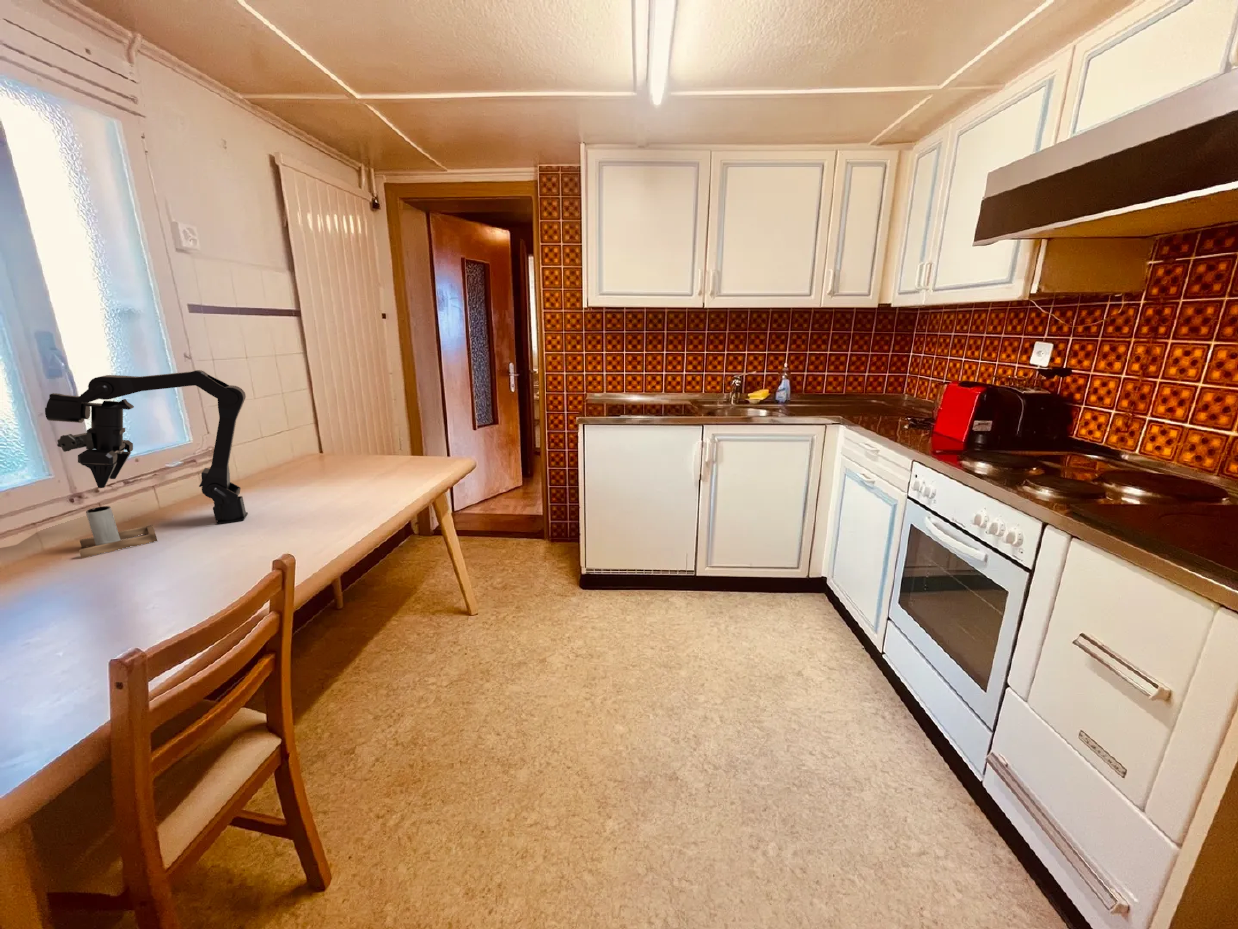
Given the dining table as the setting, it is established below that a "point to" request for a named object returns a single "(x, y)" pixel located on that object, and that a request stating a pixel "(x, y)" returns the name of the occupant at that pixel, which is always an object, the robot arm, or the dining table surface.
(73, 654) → the dining table surface
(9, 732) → the dining table surface
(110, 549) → the tan u-shaped frame
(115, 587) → the dining table surface
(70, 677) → the dining table surface
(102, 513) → the planter
